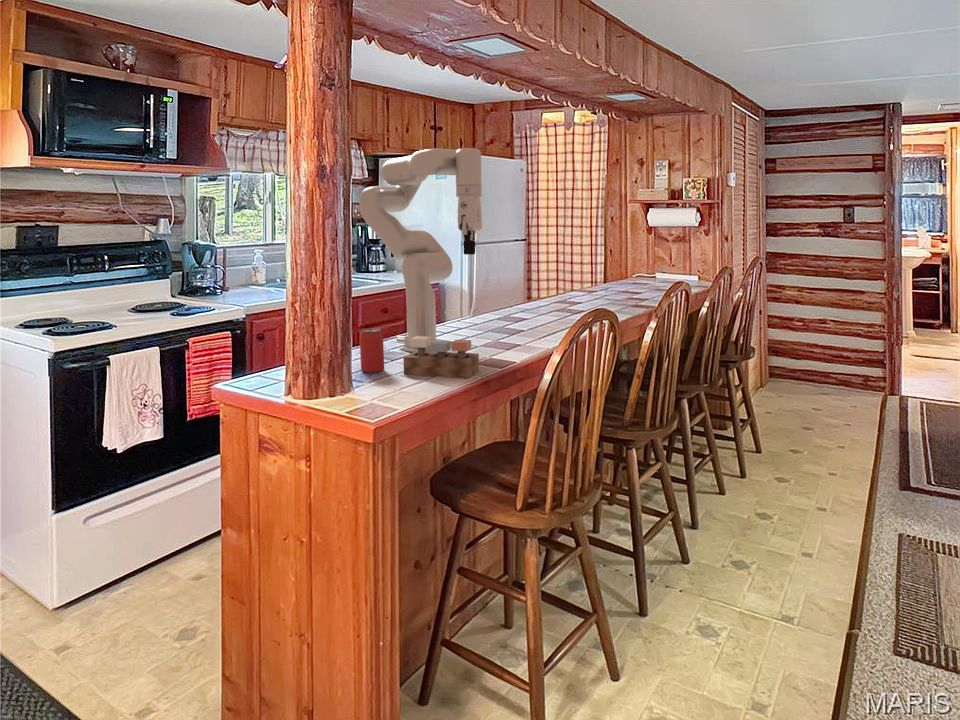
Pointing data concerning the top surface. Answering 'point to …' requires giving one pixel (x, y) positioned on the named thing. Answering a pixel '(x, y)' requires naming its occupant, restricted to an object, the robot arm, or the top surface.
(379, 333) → the beer can
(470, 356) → the walnut console
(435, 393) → the top surface
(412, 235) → the robot arm
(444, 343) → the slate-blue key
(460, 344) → the brick-red key
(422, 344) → the white key
